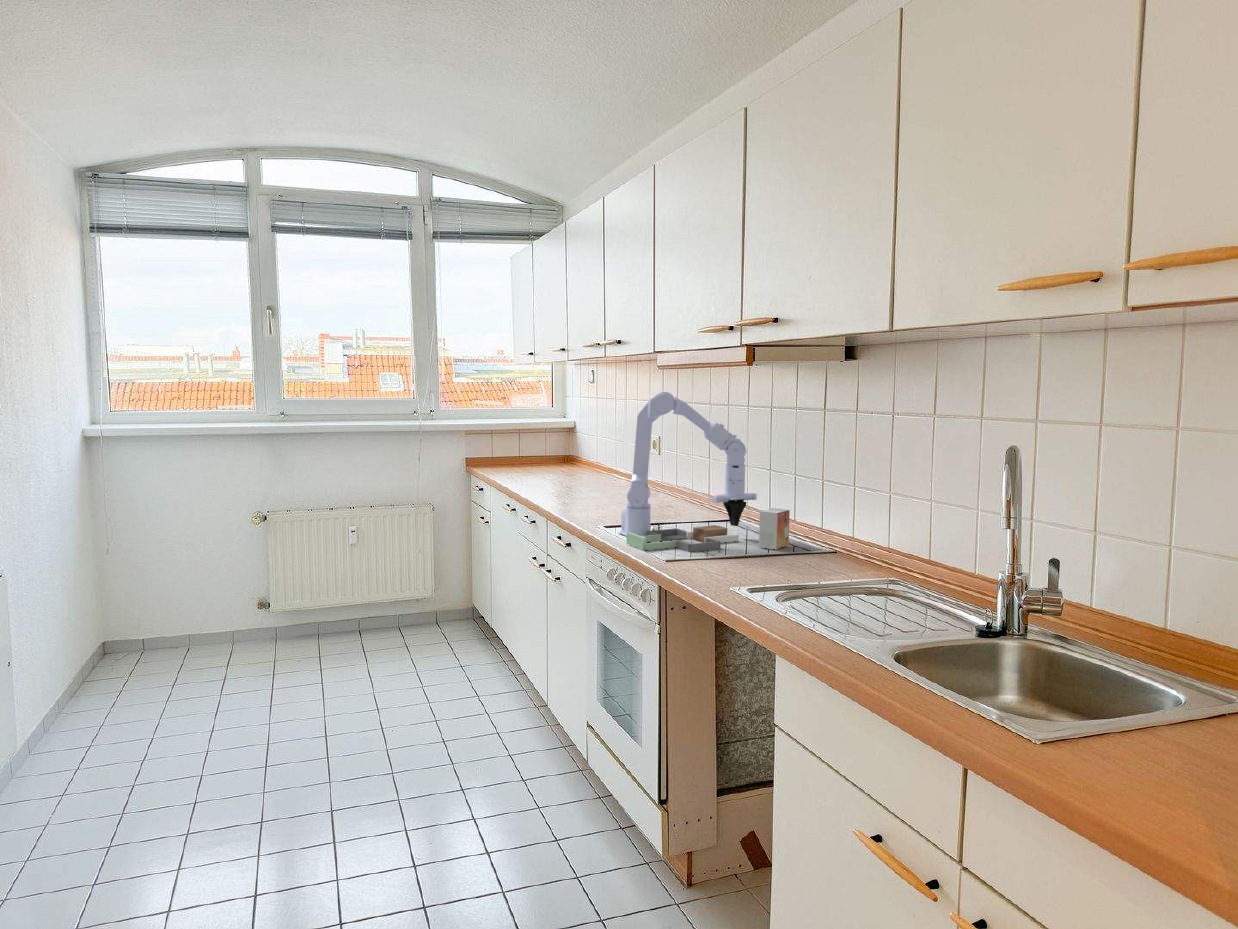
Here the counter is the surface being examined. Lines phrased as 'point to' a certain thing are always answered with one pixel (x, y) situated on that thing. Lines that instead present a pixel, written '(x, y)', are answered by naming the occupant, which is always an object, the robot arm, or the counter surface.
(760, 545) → the small box
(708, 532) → the walnut block
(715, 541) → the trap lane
